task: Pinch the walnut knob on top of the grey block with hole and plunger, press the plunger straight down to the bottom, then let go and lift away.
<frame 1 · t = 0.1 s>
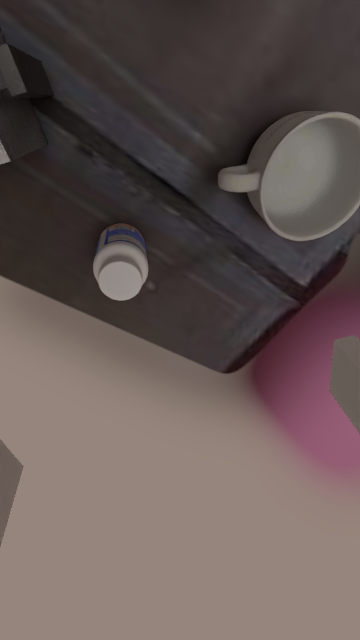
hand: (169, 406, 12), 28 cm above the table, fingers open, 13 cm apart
teacup: (269, 166, 35), on the table
pill bottle: (122, 244, 38), on the table
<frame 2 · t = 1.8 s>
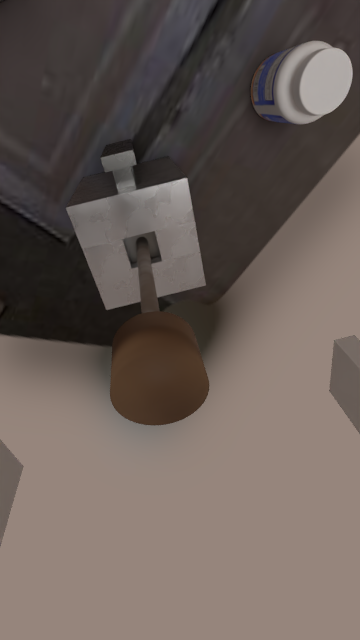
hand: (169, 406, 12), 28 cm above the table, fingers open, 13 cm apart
plunger: (147, 287, 21), point 18 cm above the table, slide at 0.0 cm
grey block with hole: (137, 210, 36), on the table
pill bottle: (274, 88, 31), on the table
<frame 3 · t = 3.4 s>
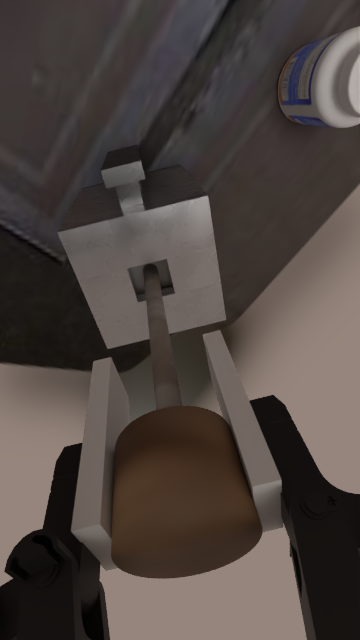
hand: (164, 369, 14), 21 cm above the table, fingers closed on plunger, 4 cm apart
plunger: (160, 339, 16), point 18 cm above the table, slide at 0.0 cm, touching gripper
grey block with hole: (144, 225, 31), on the table
pill bottle: (305, 85, 27), on the table
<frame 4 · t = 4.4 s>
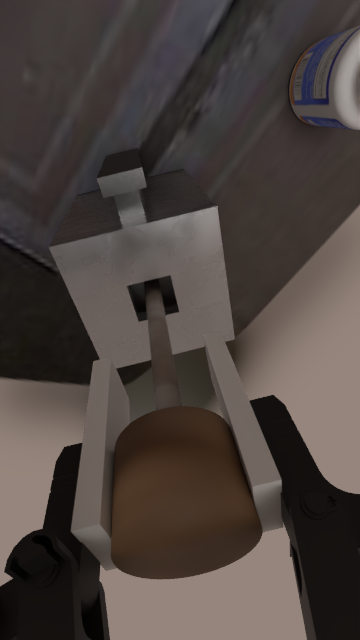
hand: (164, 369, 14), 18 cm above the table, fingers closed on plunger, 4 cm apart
plunger: (159, 340, 16), point 16 cm above the table, slide at -2.4 cm, touching gripper
grey block with hole: (144, 233, 29), on the table
pill bottle: (319, 84, 25), on the table
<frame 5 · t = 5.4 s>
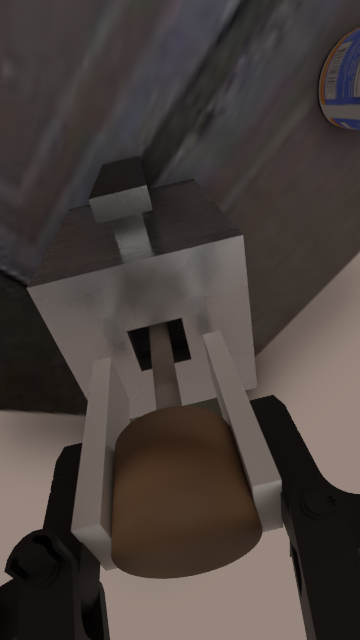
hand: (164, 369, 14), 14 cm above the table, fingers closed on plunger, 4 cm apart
plunger: (159, 340, 16), point 12 cm above the table, slide at -6.9 cm, touching gripper
grey block with hole: (147, 252, 25), on the table
pill bottle: (353, 80, 21), on the table
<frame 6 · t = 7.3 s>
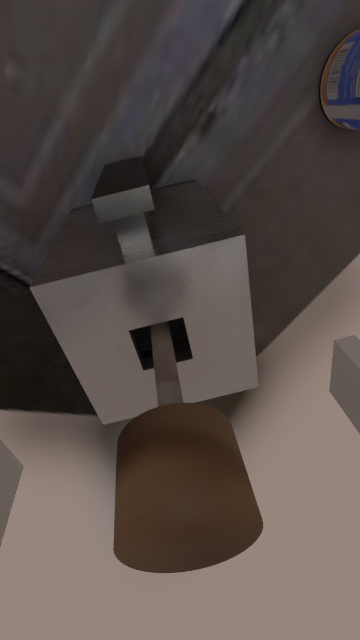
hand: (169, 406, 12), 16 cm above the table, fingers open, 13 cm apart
plunger: (161, 338, 16), point 11 cm above the table, slide at -7.0 cm
grey block with hole: (149, 252, 26), on the table
pill bottle: (355, 80, 21), on the table
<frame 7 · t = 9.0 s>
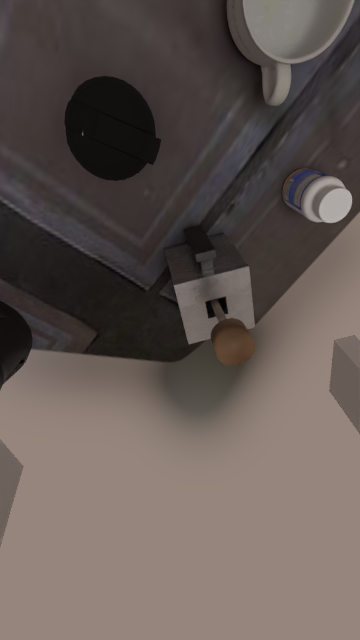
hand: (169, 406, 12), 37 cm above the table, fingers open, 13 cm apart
plunger: (215, 305, 40), point 11 cm above the table, slide at -7.0 cm
teacup: (263, 28, 35), on the table
grey block with hole: (199, 267, 50), on the table
travel mug: (118, 121, 38), on the table
pill bottle: (298, 188, 45), on the table
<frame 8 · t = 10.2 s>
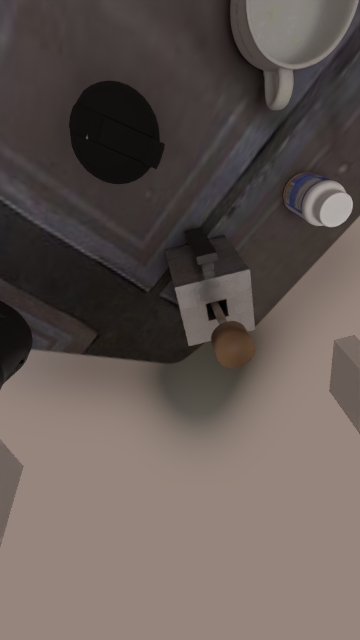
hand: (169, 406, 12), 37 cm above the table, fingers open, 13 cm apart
plunger: (216, 307, 41), point 11 cm above the table, slide at -7.0 cm
teacup: (266, 33, 36), on the table
grey block with hole: (199, 269, 50), on the table
travel mug: (121, 123, 38), on the table
pill bottle: (299, 191, 46), on the table
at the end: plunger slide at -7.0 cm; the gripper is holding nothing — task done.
